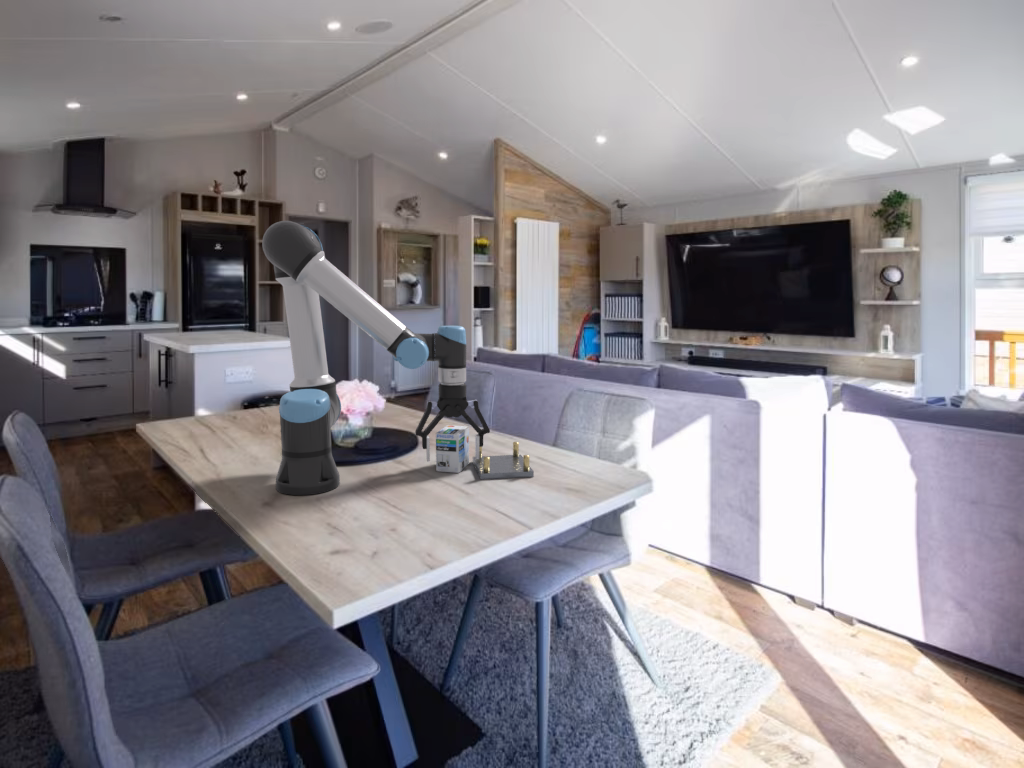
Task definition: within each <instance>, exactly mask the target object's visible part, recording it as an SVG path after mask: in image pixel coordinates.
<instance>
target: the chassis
mask: <svg viewBox="0 0 1024 768" xmlns="http://www.w3.org/2000/svg"><path fill="white" fill-rule="evenodd" d="M519 445H520V443H519V441H513V442H512V454H507V455H505V454H504V455H503V454H502V455H483V447H479V459H476V456H472V464H473V466H474V468H475V471H476V472H477V474H478V476H479V479H480V480H494V479H495V480H497V479H516V478H517V479H518V478H534V470H533V468H532V466H531V465H530V458H531V457H530V454H523V456H522V455H521V454H519V452H520V451H519V450H520V448H519V447H520V446H519Z"/></svg>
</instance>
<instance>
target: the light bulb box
mask: <svg viewBox="0 0 1024 768" xmlns="http://www.w3.org/2000/svg"><path fill="white" fill-rule="evenodd" d="M435 460H436V461H435V462H436V463H435V467H436V472H439V473H441V472H443V473H455V474H456V473H457V474H459V473H461V472H462V471H463V470H464V469H465V468H466V467H467V466H468V465H469V464H470V426H465V425H463V426H462V425H451V424H447V425H445V426H444V427H442V428H441V429H440V430H438V431H437V432H436V433H435Z"/></svg>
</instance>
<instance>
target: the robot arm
mask: <svg viewBox="0 0 1024 768" xmlns="http://www.w3.org/2000/svg"><path fill="white" fill-rule="evenodd" d="M261 243H262V244H261V246H262V247H261V248H262V251H263V253H264V255H265V257H266V259H267V260H268V261H269V262H270V263H271V264H272V265H273V270H274V276H275V281H277V282H278V283H279V284H280V285H281V286H282V290H283V297H284V305H285V312H286V320H287V327H288V328H287V329H288V337H289V343H290V351H291V359H292V365H293V367H292V368H293V374H294V378H293V380H291V382H290V384H289V390H290V391H288V392H287V393H285V394H283V395H282V396H281V398H280V399H279V400H280V401H279V407H278V410H279V412H278V413H279V421H280V440H281V441H280V442H281V460H280V464H279V468H278V470H277V471H278V472H277V474H276V477H275V490H276V491H277V492H278V493H281V494H284V495H292V496H293V495H294V496H305V495H306V496H308V495H317V494H321V493H326V492H329V491H331V490H334V489H336V488H338V487H339V486H340V484H341V481H340V480H341V479H340V477H341V476H340V472H339V470H338V467H337V464H336V462H335V460H334V457H333V453H332V433H331V432H332V430H331V429H332V427H333V426H334V425H335V424H336V423H337V422H338V420H339V419H340V416H341V412H342V402H341V400H340V397H339V395H338V392H337V387H336V385H337V384H336V379H335V378H334V377H332V376H331V375H330V374H329V368H328V367H329V366H328V361H327V360H328V359H327V351H326V342H325V334H324V329H323V328H324V327H323V325H324V324H323V318H322V309H321V303H320V297H322V298H323V299H324V300H325V301H326V302H328V303H329V304H330V305H332V307H333V308H334V309H336V310H338V311H339V312H340V313H341V314H342V315H344V316H345V317H346V318H347V319H348V320H350V321H351V322H352V323H353V324H354V325H356V327H358V328H359V329H360V330H362V331H363V332H364V333H366V334H367V336H369V337H370V338H372V339H373V340H374V341H375V342H377V344H378V345H380V346H381V347H383V348H384V349H385V350H386V351H387V352H388V353H389V354H391V355H392V358H393V359H392V360H394V362H398V363H399V364H400V365H401V366H402V367H403V368H406V369H408V370H416V369H418V368H421V367H422V366H423V365H425V364H426V363H427V362H437V363H438V367H437V369H438V370H437V371H438V382H439V384H438V400H437V401H432V400H427V401H426V408H425V411H424V413H423V415H422V417H421V419H420V421H419V423H418V425H417V427H416V429H415V432H414V433H415V436H417V437H418V436H419V437H421V447H422V449H423V450H426V451H425V453H426V456H425V457H426V462H430V461H431V457H430V456H431V453H430V449H431V448H430V445H431V444H430V436H429V434H431V432H432V431H433V429H435V427H436V426H437V425H438V424H439V423H440V421H441V420H442V419H443V418H444V417H446V418H453V417H455V418H459V417H461V416H462V417H463V418H464V419H465V420H466V421H467V422H468V424H469V425H470V426H471V427H472V428H473V430H475V432H476V434H475V435H474V436H475V438H474V439H475V442H474V443H475V444H474V445H475V457H476V459H479V447H482V448H483V446H484V436H485V435H486V434H489V433H491V431H490V428H489V426H488V424H487V422H486V420H485V418H484V416H483V414H482V412H481V410H480V408H479V401H478V400H477V399H475V398H474V399H472V400H467V384H466V382H467V333H466V328H465V327H464V326H461V325H440V326H438V327H437V332H436V333H435V332H434V333H418V332H417V333H415V332H413V331H412V330H411V329H409V328H408V327H407V326H406V325H405V324H404V323H402V322H401V321H400V320H399V319H398V318H396V317H395V316H394V315H393V314H392V313H390V311H388V310H387V309H386V308H385V307H384V306H382V305H381V304H380V303H378V302H377V301H376V300H375V299H374V298H373V297H372V296H370V295H369V294H368V293H367V292H365V291H364V290H363V288H361V287H359V285H357V284H356V283H355V281H353V280H352V279H350V278H349V277H348V276H347V275H345V273H344V272H342V271H341V270H340V269H338V268H337V267H336V266H335V265H334V264H333V263H331V262H330V261H329V260H328V259H327V258H326V255H325V251H324V249H323V244H322V242H321V240H320V238H319V236H318V235H317V234H316V233H315V231H313V230H312V229H311V228H309V227H307V226H305V225H302V224H299V223H298V222H295V221H291V220H281V221H277V222H275V223H273V224H271V225H270V226H269V227H268V228H267V229H266V231H265V232H264V233H263V237H262V242H261ZM469 406H470V408H471V409H473V411H474V412H475V414H476V416H477V418H478V420H479V422H480V424H481V426H482V429H481V427H479V425H478V424H477V423H476V422H475V421H474V420H473V418H472V417H471V416H470V415H469V414H468V413H467V411H466V410H467V408H468V407H469ZM436 407H437V408H438V409H439V411H438V413H436V416H435V417H434V418H433V419H432V420H431V422H430V423H429V424H428V425H427V426H426V427H425V425H426V423H427V421H428V419H429V416H430V415H431V412H432V410H435V408H436ZM424 427H425V429H424ZM423 429H424V430H423Z"/></svg>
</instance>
